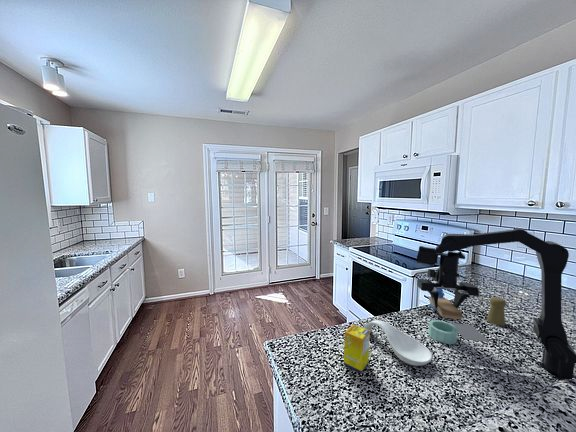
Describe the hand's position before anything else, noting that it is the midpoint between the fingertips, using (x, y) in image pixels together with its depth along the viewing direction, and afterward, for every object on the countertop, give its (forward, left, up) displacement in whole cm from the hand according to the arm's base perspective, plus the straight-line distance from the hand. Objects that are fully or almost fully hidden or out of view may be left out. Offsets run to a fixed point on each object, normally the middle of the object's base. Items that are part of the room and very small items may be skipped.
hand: (444, 309), depth 90 cm
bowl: (0, 0, -11) cm, 11 cm away
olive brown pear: (+17, -27, -11) cm, 34 cm away
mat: (+6, -11, -11) cm, 17 cm away
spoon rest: (-12, +20, -12) cm, 26 cm away
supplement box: (-22, +33, -11) cm, 42 cm away
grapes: (+23, -7, -11) cm, 26 cm away
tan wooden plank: (0, 0, -1) cm, 1 cm away
